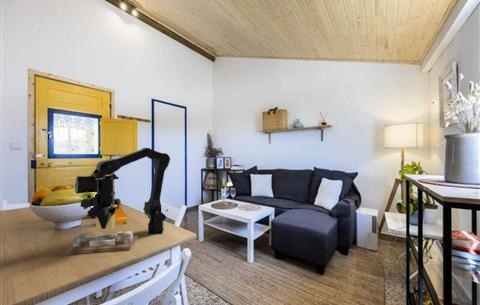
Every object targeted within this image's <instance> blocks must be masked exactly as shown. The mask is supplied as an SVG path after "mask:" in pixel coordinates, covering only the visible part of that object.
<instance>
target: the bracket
mask: <svg viewBox="0 0 480 305" xmlns="http://www.w3.org/2000/svg"><path fill="white" fill-rule="evenodd" d="M115 205H116V207H118V208H117V209H116V211H115V213H114V214H115V227H116V226H121V225H124V223H128V222H129V218H128V216H126V214H125V211H124V209H123V206H122V204H120V205H119V206H117V204H115ZM115 205H113V206H114V207H115Z"/></svg>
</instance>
